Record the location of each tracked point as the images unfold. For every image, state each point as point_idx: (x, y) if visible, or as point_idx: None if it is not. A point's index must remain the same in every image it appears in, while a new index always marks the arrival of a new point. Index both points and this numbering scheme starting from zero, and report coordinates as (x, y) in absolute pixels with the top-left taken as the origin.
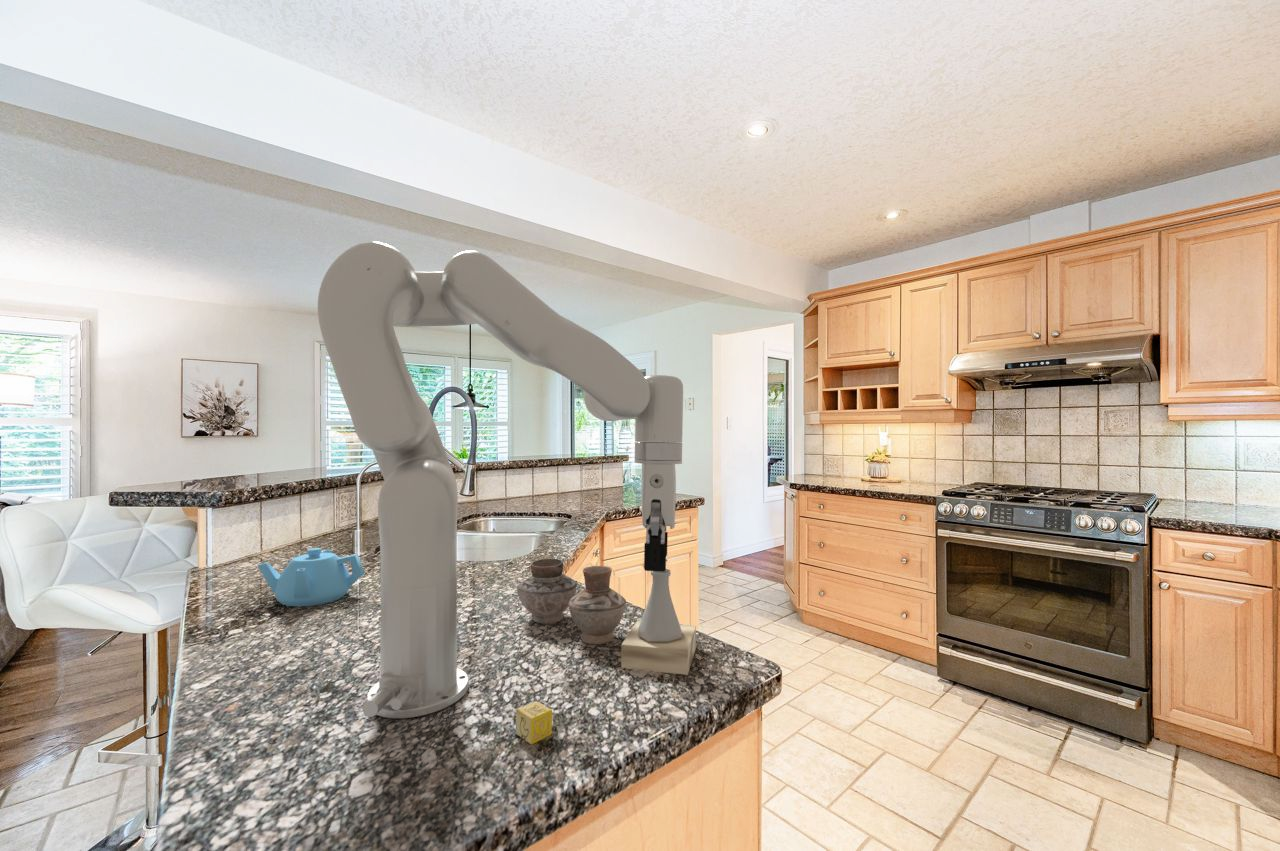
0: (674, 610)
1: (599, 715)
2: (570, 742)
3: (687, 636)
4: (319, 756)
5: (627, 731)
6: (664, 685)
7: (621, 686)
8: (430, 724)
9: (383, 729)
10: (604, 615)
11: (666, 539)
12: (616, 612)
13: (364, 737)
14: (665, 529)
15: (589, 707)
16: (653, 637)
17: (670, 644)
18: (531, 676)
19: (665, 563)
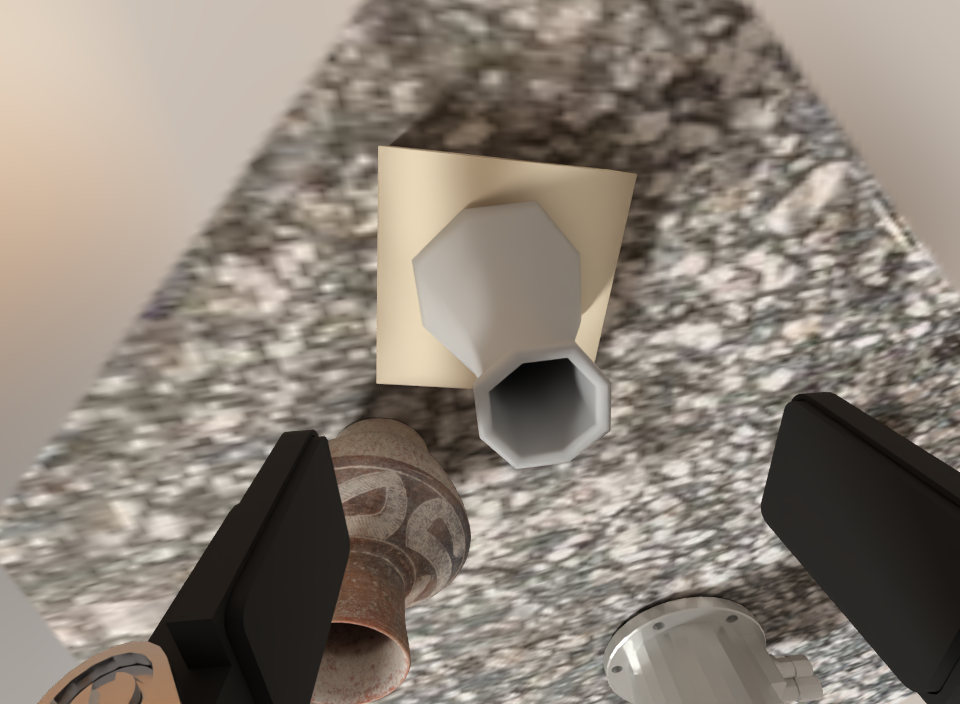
0: (513, 254)
1: (795, 366)
2: (880, 394)
3: (503, 180)
4: (828, 662)
5: (871, 298)
6: (672, 236)
7: (670, 345)
8: (774, 597)
9: (777, 638)
10: (456, 491)
11: (268, 546)
12: (423, 464)
13: (794, 646)
14: (172, 685)
15: (759, 392)
16: (580, 308)
17: (582, 242)
18: (614, 528)
19: (872, 418)
